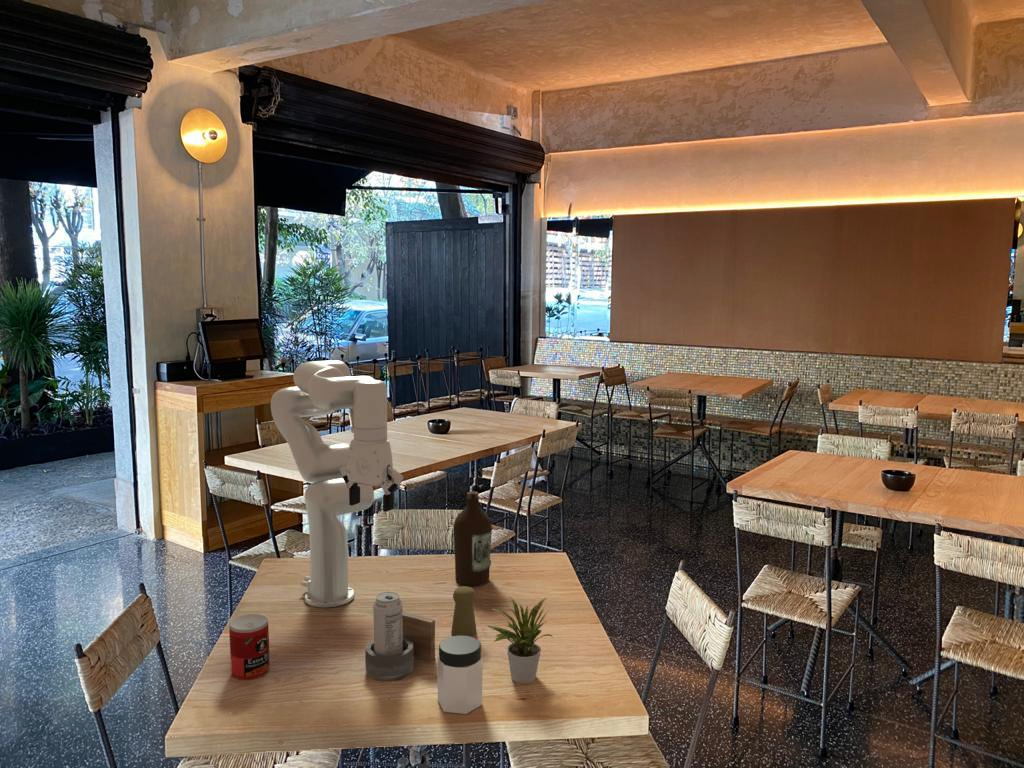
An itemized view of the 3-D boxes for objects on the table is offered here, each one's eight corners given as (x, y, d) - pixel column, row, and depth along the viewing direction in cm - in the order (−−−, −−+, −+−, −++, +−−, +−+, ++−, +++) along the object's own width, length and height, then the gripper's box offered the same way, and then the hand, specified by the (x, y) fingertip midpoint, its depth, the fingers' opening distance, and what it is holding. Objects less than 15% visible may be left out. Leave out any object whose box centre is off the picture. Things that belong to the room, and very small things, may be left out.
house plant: (513, 651, 167) (514, 581, 165) (568, 668, 160) (570, 595, 158) (478, 679, 155) (478, 604, 153) (536, 698, 148) (537, 620, 146)
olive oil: (445, 579, 208) (445, 492, 205) (474, 570, 216) (474, 485, 213) (470, 590, 201) (471, 500, 198) (499, 580, 208) (500, 493, 205)
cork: (473, 640, 172) (473, 594, 171) (447, 637, 174) (448, 592, 172) (479, 628, 178) (479, 584, 177) (455, 626, 179) (455, 582, 178)
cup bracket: (398, 686, 152) (398, 644, 151) (352, 672, 157) (351, 631, 156) (434, 658, 163) (434, 619, 162) (390, 646, 169) (390, 608, 168)
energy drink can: (392, 654, 163) (391, 588, 161) (408, 664, 159) (407, 596, 157) (368, 663, 159) (367, 596, 157) (385, 674, 155) (384, 605, 153)
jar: (460, 686, 152) (460, 630, 151) (490, 700, 147) (491, 643, 145) (428, 704, 145) (428, 646, 144) (458, 720, 140) (458, 659, 139)
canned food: (247, 684, 152) (246, 633, 151) (222, 673, 156) (220, 623, 155) (277, 668, 158) (276, 619, 157) (252, 658, 163) (251, 610, 161)
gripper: (330, 433, 171) (331, 505, 173) (391, 440, 163) (391, 517, 165) (351, 428, 177) (352, 498, 179) (411, 435, 169) (411, 508, 171)
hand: (371, 507), depth 172 cm, fingers open, 9 cm apart
